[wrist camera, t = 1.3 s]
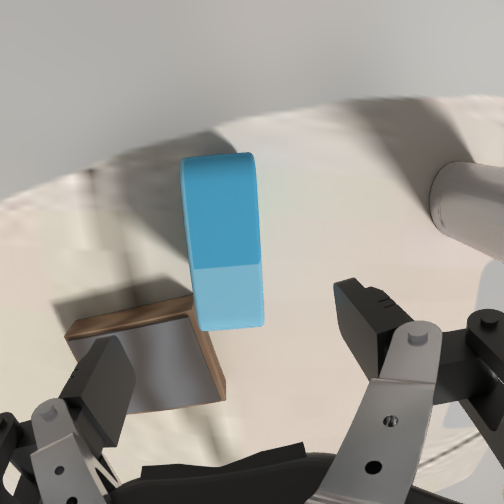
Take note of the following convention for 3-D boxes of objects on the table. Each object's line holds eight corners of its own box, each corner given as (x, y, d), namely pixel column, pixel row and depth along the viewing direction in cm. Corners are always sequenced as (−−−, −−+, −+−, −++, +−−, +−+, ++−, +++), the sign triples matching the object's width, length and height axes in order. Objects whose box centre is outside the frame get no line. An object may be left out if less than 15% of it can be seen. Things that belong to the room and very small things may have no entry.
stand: (194, 293, 33) (191, 311, 30) (225, 380, 37) (226, 402, 33) (75, 320, 33) (62, 338, 29) (116, 397, 37) (109, 418, 33)
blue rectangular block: (251, 273, 33) (265, 335, 22) (207, 276, 33) (199, 340, 22) (243, 152, 30) (255, 151, 18) (195, 156, 29) (177, 158, 18)
